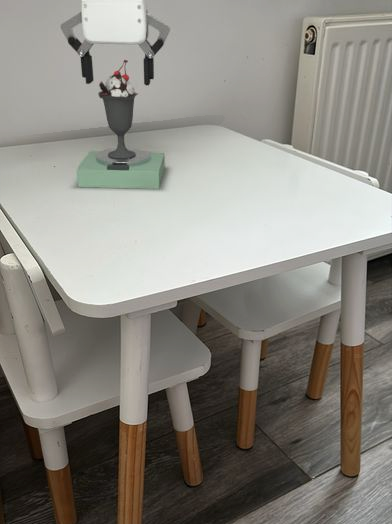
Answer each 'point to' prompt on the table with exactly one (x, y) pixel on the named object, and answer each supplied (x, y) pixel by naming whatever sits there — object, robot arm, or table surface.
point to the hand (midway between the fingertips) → (118, 83)
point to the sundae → (119, 109)
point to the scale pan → (137, 160)
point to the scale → (121, 173)
